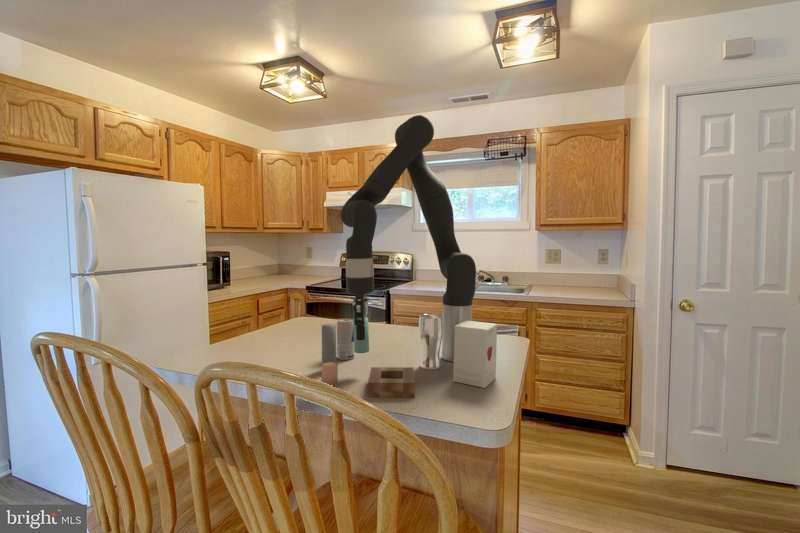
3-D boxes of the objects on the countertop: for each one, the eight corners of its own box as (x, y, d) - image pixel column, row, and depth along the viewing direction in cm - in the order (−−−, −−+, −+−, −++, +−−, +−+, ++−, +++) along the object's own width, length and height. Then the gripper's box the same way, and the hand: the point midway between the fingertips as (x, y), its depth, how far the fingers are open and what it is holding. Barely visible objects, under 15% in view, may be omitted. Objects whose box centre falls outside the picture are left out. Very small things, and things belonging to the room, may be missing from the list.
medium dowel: (369, 348, 106) (368, 317, 105) (368, 353, 102) (367, 320, 101) (355, 349, 106) (354, 317, 105) (353, 353, 102) (352, 320, 101)
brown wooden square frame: (413, 380, 100) (413, 367, 100) (414, 397, 89) (414, 382, 89) (371, 380, 100) (371, 367, 100) (368, 397, 89) (367, 382, 89)
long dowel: (337, 368, 110) (337, 323, 109) (335, 373, 106) (334, 326, 105) (323, 368, 110) (323, 323, 109) (320, 373, 106) (320, 326, 105)
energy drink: (355, 355, 122) (355, 318, 121) (352, 360, 117) (352, 322, 116) (339, 355, 122) (339, 318, 122) (335, 360, 117) (334, 321, 116)
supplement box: (485, 389, 95) (486, 329, 94) (452, 382, 99) (453, 325, 98) (496, 378, 102) (498, 323, 101) (465, 372, 107) (466, 319, 106)
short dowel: (338, 381, 100) (338, 362, 99) (336, 386, 96) (336, 367, 95) (323, 381, 100) (323, 362, 99) (320, 386, 96) (320, 367, 95)
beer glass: (444, 364, 114) (444, 314, 113) (439, 371, 107) (439, 319, 106) (422, 361, 116) (422, 313, 115) (415, 368, 110) (415, 317, 109)
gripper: (372, 277, 95) (373, 344, 97) (375, 272, 110) (376, 331, 111) (342, 278, 95) (344, 345, 97) (349, 273, 110) (350, 331, 111)
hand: (361, 337), depth 104 cm, fingers closed on medium dowel, 4 cm apart
